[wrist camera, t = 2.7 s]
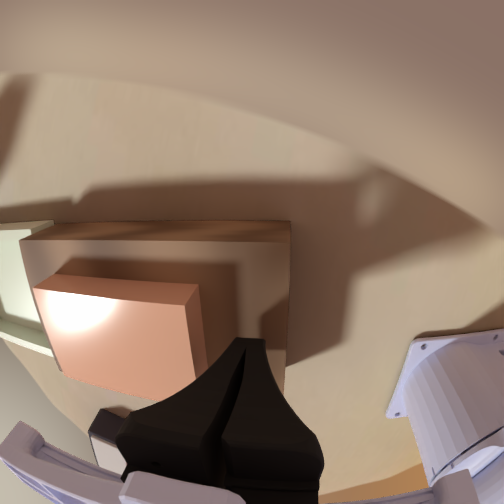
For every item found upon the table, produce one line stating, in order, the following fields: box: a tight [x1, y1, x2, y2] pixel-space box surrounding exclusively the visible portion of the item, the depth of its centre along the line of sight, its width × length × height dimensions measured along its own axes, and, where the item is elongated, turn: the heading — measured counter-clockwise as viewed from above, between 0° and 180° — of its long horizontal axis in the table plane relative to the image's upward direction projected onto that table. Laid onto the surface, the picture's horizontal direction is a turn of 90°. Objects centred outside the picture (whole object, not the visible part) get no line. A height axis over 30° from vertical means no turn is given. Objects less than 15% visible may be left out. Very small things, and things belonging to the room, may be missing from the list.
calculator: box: [88, 409, 127, 475], centre depth 24 cm, size 11×4×15 cm
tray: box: [0, 220, 54, 357], centre depth 19 cm, size 13×11×2 cm
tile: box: [33, 274, 208, 401], centre depth 14 cm, size 9×6×2 cm, turn 91°
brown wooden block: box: [18, 220, 291, 394], centre depth 16 cm, size 16×10×4 cm, turn 91°
